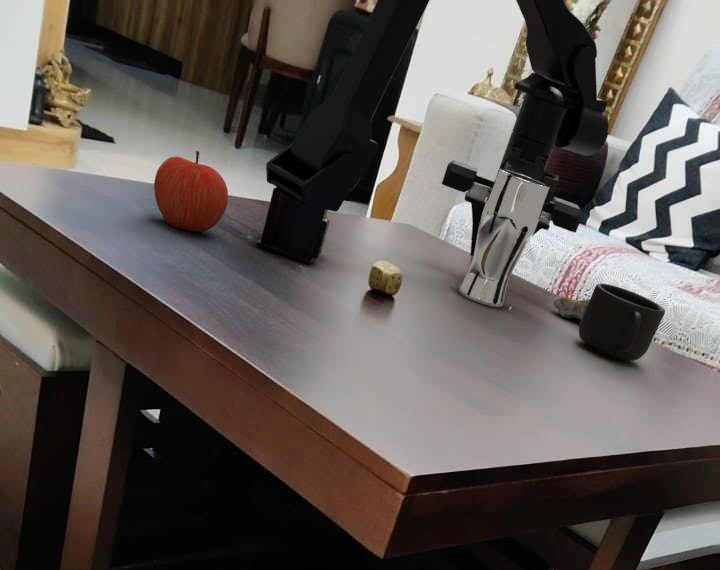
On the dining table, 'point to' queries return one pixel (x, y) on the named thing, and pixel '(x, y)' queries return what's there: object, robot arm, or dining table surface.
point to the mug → (619, 323)
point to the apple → (190, 194)
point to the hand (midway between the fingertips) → (488, 261)
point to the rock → (571, 307)
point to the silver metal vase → (503, 235)
